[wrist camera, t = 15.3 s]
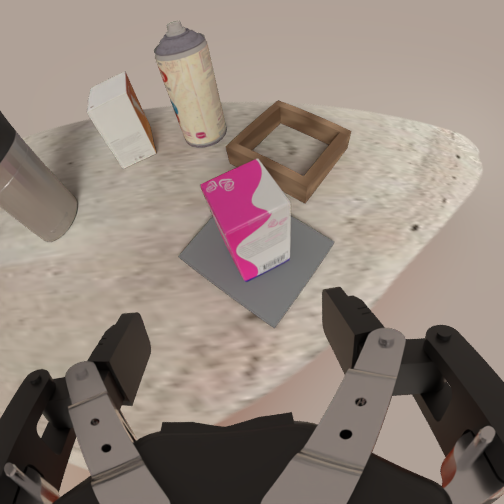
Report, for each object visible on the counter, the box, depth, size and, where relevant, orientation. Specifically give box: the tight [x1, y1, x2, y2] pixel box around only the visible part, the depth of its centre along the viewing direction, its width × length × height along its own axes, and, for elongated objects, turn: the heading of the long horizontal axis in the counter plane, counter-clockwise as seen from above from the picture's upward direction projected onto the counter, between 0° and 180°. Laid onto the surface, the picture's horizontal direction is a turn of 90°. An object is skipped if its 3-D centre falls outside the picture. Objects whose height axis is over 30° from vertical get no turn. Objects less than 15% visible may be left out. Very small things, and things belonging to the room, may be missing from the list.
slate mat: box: [178, 216, 334, 328], centre depth 33 cm, size 14×12×1 cm
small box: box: [87, 72, 156, 169], centre depth 37 cm, size 8×6×13 cm
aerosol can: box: [154, 21, 227, 147], centre depth 33 cm, size 7×7×20 cm
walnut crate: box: [226, 101, 351, 203], centre depth 37 cm, size 12×12×4 cm
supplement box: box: [200, 159, 291, 282], centre depth 27 cm, size 6×6×12 cm
